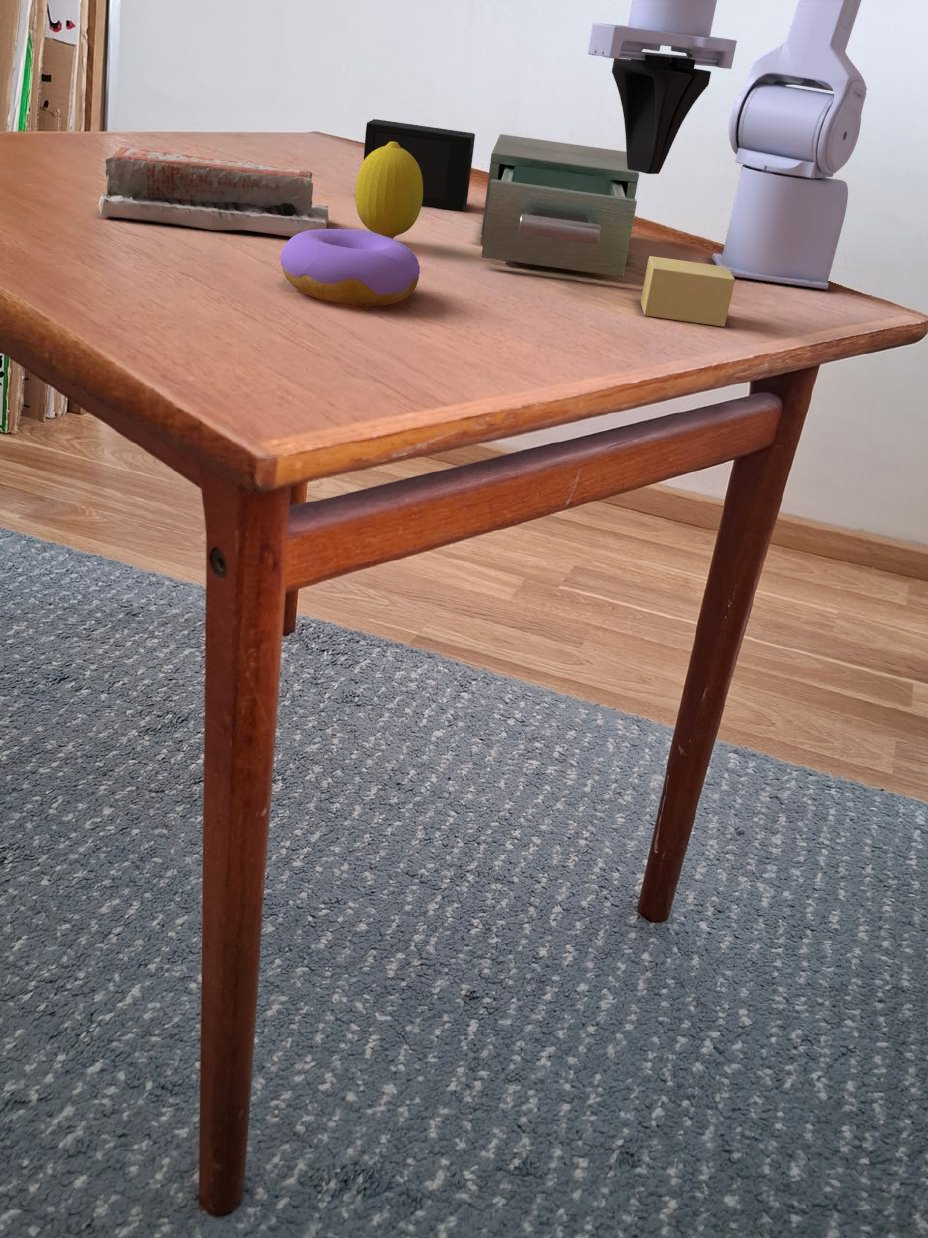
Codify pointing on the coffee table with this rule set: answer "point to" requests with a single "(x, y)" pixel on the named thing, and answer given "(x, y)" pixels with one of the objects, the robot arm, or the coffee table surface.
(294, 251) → the donut
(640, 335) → the coffee table surface
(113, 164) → the weathered stone block
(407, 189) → the lemon
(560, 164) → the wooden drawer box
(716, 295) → the block
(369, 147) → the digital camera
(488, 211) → the drawer
